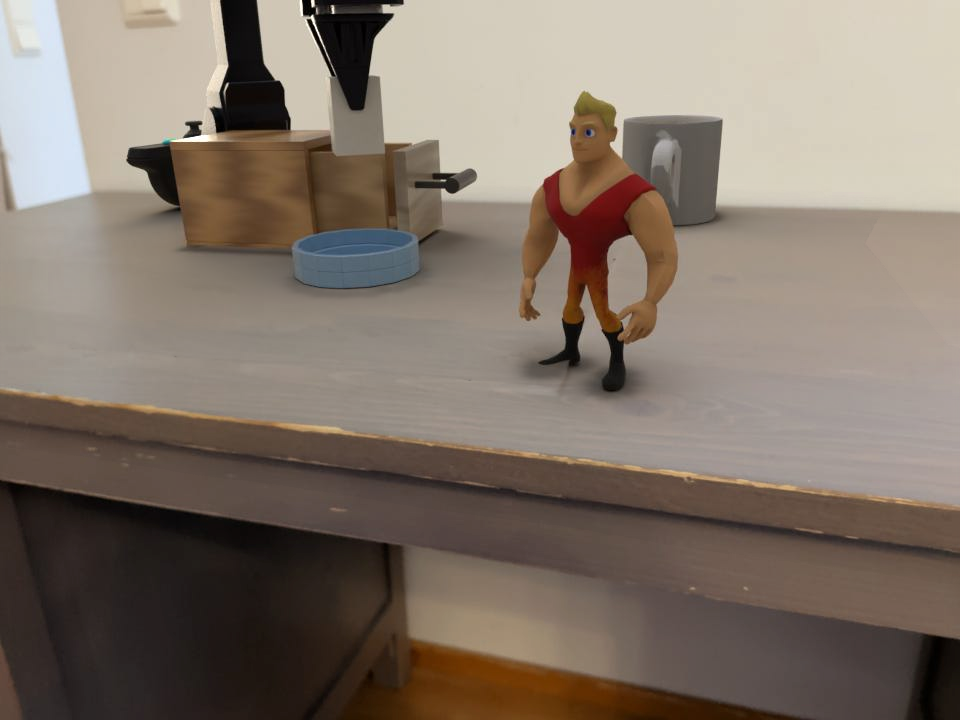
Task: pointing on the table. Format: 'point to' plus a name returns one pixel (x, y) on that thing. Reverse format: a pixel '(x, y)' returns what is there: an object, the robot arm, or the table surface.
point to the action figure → (598, 235)
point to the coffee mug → (677, 161)
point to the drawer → (383, 188)
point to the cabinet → (247, 187)
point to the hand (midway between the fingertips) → (354, 108)
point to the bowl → (356, 257)
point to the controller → (161, 164)
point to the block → (355, 121)
